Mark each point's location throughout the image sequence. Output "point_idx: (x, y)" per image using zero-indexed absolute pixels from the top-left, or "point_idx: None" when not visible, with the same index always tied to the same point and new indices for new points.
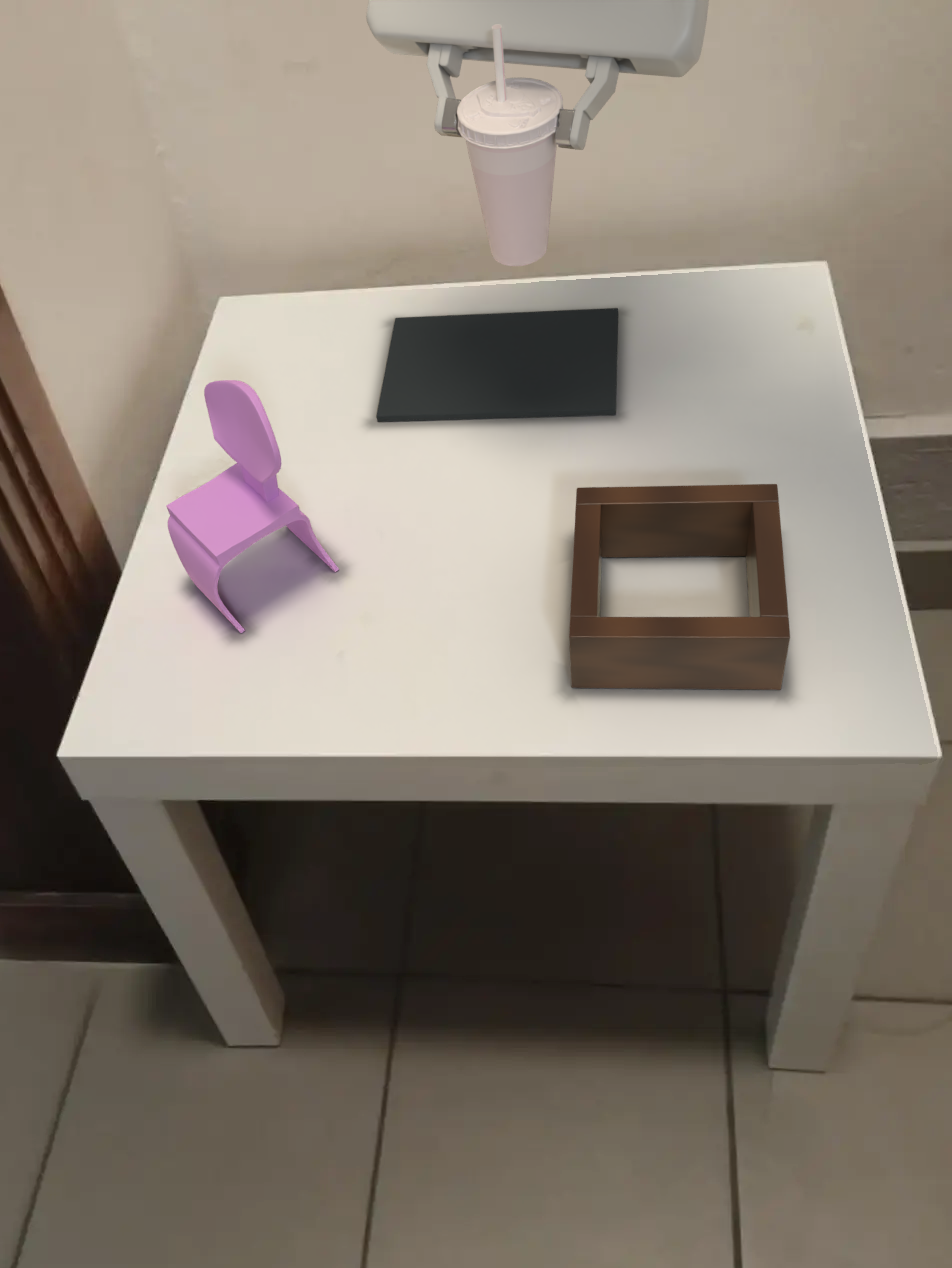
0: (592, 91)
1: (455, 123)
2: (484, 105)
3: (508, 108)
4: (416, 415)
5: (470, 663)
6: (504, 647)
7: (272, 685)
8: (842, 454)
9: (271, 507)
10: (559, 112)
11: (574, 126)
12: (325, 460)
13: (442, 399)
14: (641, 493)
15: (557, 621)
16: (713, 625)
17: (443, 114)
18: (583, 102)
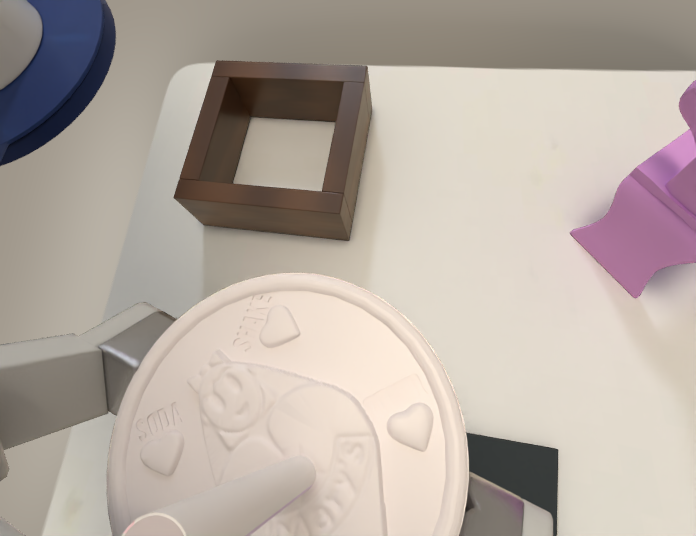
0: (9, 354)
1: (473, 483)
2: (364, 451)
3: (284, 398)
4: (506, 440)
5: (445, 132)
6: (418, 144)
7: (610, 121)
8: (117, 308)
9: (669, 167)
10: (142, 358)
11: (129, 318)
12: (611, 392)
13: (476, 462)
14: (284, 199)
15: (375, 163)
16: (262, 71)
17: (521, 527)
18: (60, 346)
